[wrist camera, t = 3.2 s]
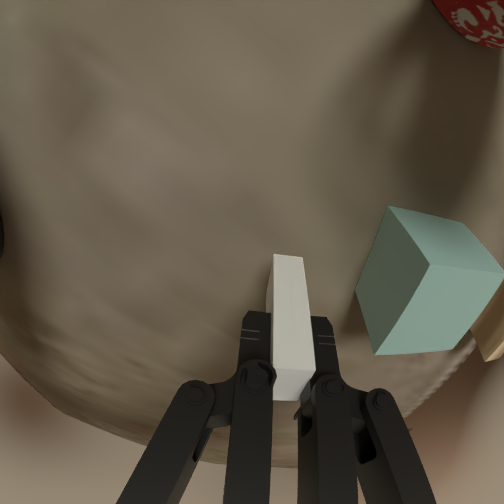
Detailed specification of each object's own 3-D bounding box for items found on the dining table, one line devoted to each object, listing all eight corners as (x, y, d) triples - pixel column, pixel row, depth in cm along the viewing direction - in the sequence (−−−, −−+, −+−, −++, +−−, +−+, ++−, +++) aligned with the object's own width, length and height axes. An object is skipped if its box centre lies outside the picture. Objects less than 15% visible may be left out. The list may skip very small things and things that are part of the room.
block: (354, 288, 19) (374, 355, 15) (386, 204, 15) (430, 264, 10) (425, 293, 20) (452, 349, 15) (461, 221, 15) (506, 274, 11)
